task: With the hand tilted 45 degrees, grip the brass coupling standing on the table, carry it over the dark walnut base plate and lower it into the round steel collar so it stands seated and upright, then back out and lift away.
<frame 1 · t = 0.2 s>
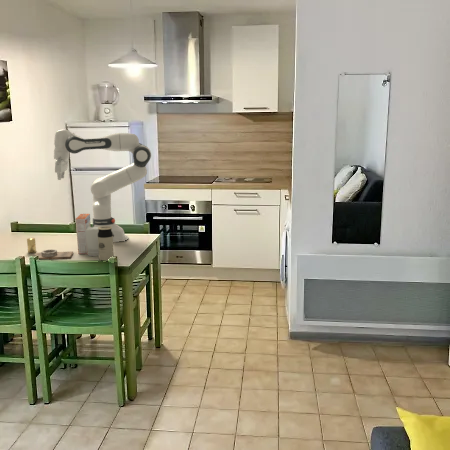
hand: (60, 179, 316), 39 cm above the table, tool pointing down, fingers open, 8 cm apart
coupling base: (53, 256, 289), on the table
skincare box: (95, 254, 293), on the table
travel mug: (106, 259, 283), on the table
brass coupling: (32, 252, 298), on the table
cracker box: (85, 251, 301), on the table
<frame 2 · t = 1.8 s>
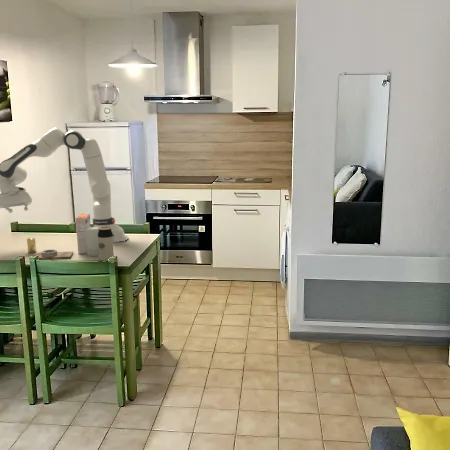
hand: (19, 211, 302), 23 cm above the table, tool tilted 45°, fingers open, 8 cm apart
nothing on the table moved.
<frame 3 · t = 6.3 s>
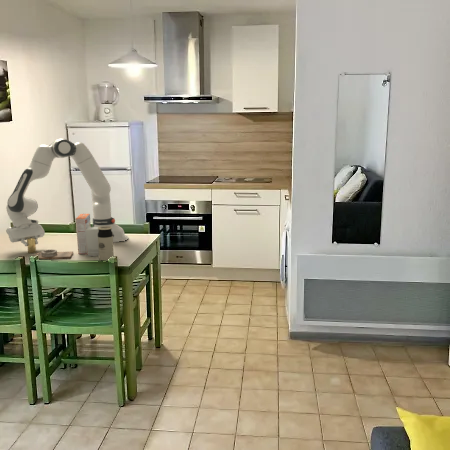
hand: (32, 244, 297), 5 cm above the table, tool tilted 45°, fingers closed on brass coupling, 4 cm apart
brass coupling: (32, 252, 298), on the table, touching gripper
everything else where it was.
when the fingers open (7 cm above the table, at t = 11.3 s): brass coupling stays where it is, resting on coupling base.
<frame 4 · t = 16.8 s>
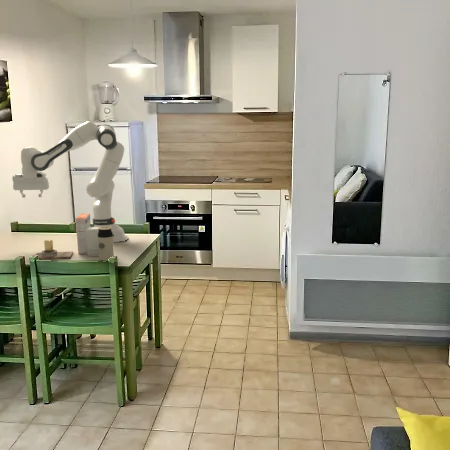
hand: (32, 197, 310), 29 cm above the table, tool pointing down, fingers open, 8 cm apart
brass coupling: (49, 254, 288), point 1 cm above the table, touching coupling base
everything else where it was.
at the end: brass coupling 0.0 cm from the target spot on the coupling base, point 1.2 cm above the coupling base's base; brass coupling tilted 1°; the gripper is holding nothing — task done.
